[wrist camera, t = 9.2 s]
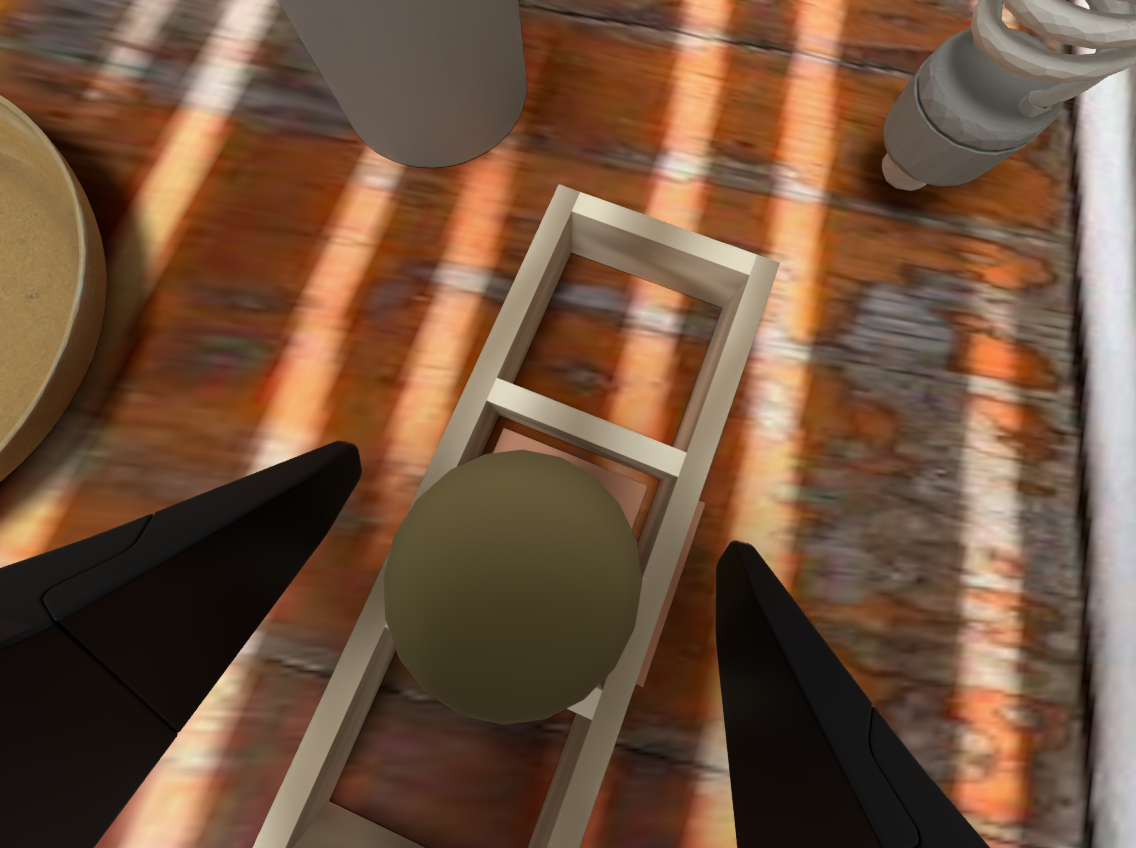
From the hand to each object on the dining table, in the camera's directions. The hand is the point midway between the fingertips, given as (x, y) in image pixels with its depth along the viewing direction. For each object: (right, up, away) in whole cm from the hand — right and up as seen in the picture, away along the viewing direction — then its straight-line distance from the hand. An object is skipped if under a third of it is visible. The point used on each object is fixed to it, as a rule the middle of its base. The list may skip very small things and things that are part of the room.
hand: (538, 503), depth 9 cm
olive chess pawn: (0, -3, +8) cm, 9 cm away
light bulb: (+18, +14, +12) cm, 26 cm away
